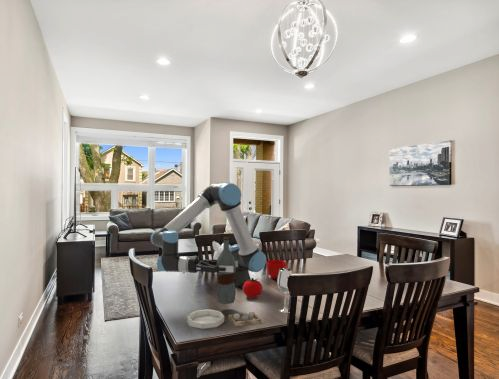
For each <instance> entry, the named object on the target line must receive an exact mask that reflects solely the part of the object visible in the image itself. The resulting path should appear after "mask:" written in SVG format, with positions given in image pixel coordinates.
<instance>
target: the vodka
mask: <svg viewBox="0 0 499 379" xmlns="http://www.w3.org/2000/svg"><path fill="white" fill-rule="evenodd" d="M229 239H230V238H229V237H226V236H225V237H223V243H224V247H223V251H222V252H221V254H220V255H219V257H218V259H217V266H233V272H219V273H218V274H216V276H217V278H216V279H217V285H216V292H215V293H216V301H217V302H218V303H219V304H222V305H230V304H233V303H234V302H235V300H236V292H237V291H236V287H235V283H234V281H235V269H236V263H235V258H234V256H233V255H232V253H231V252H230V250H229V249H230V240H229Z"/></svg>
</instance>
